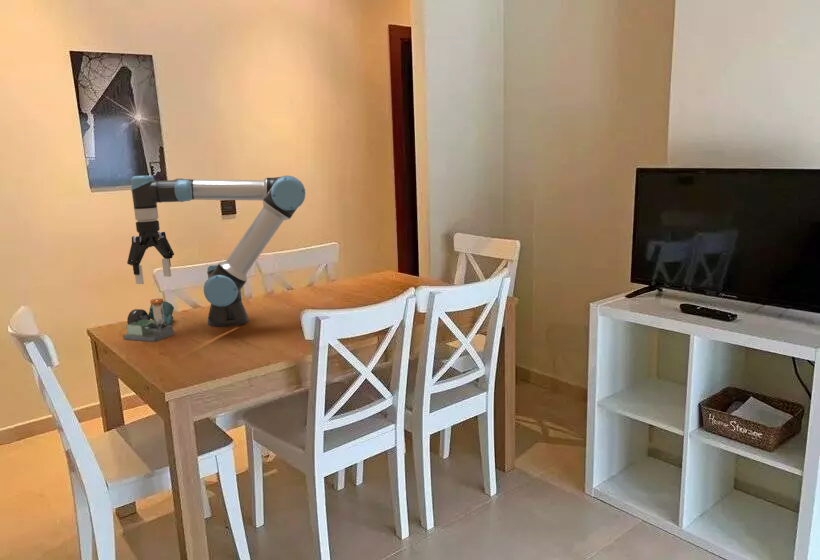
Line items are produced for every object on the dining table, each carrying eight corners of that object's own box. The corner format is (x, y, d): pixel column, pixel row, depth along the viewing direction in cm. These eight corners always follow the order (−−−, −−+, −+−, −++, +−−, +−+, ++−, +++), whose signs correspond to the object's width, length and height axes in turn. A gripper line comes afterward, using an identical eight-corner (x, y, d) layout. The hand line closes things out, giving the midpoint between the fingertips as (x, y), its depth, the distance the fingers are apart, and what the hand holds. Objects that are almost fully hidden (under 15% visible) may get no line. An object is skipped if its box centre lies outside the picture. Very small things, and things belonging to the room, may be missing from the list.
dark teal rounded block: (178, 306, 249) (172, 326, 244) (167, 314, 255) (161, 333, 249) (156, 296, 244) (150, 316, 239) (146, 305, 250) (139, 324, 244)
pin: (169, 331, 232) (166, 298, 230) (161, 334, 228) (157, 301, 226) (159, 330, 234) (156, 298, 231) (151, 333, 230) (147, 300, 227)
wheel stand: (153, 329, 241) (151, 307, 240) (138, 334, 234) (135, 312, 232) (140, 328, 244) (138, 306, 242) (125, 333, 236) (122, 311, 235)
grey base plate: (174, 334, 233) (172, 320, 232) (154, 341, 224) (153, 328, 223) (143, 331, 238) (142, 318, 237) (123, 339, 229) (121, 325, 228)
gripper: (163, 216, 236) (170, 273, 240) (110, 224, 213) (118, 286, 217) (180, 216, 233) (186, 273, 237) (128, 224, 210) (136, 287, 215)
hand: (154, 280), depth 227 cm, fingers open, 13 cm apart
